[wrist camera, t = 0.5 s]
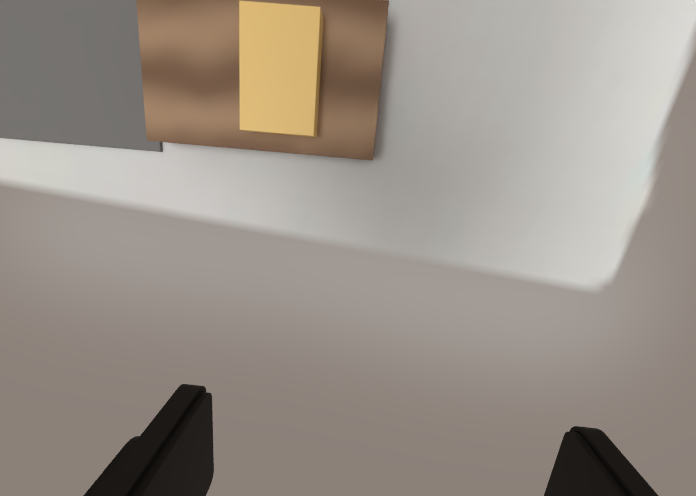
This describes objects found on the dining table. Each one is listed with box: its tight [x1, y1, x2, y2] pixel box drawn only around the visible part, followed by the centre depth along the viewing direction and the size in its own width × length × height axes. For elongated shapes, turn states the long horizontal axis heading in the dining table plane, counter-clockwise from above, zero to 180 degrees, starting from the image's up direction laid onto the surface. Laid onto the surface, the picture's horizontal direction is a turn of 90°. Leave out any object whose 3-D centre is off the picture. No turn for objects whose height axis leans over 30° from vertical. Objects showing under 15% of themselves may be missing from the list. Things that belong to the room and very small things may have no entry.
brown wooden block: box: [136, 0, 389, 160], centre depth 30 cm, size 12×20×4 cm, turn 85°
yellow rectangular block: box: [239, 1, 323, 137], centre depth 27 cm, size 9×6×2 cm, turn 175°
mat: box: [0, 0, 162, 152], centre depth 32 cm, size 14×18×1 cm
